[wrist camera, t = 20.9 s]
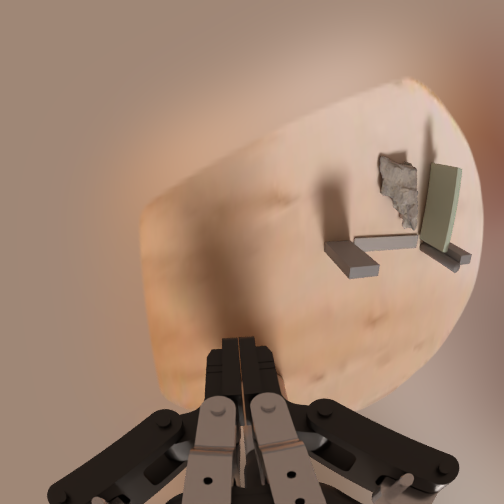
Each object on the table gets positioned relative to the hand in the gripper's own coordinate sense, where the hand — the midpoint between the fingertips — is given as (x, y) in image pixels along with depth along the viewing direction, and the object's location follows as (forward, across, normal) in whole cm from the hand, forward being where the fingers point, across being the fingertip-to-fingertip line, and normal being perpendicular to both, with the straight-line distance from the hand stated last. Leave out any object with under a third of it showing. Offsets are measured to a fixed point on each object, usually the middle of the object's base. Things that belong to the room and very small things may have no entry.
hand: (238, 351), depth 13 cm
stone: (+30, -27, -3) cm, 40 cm away
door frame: (+29, -26, +6) cm, 39 cm away
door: (+29, -35, -2) cm, 45 cm away
